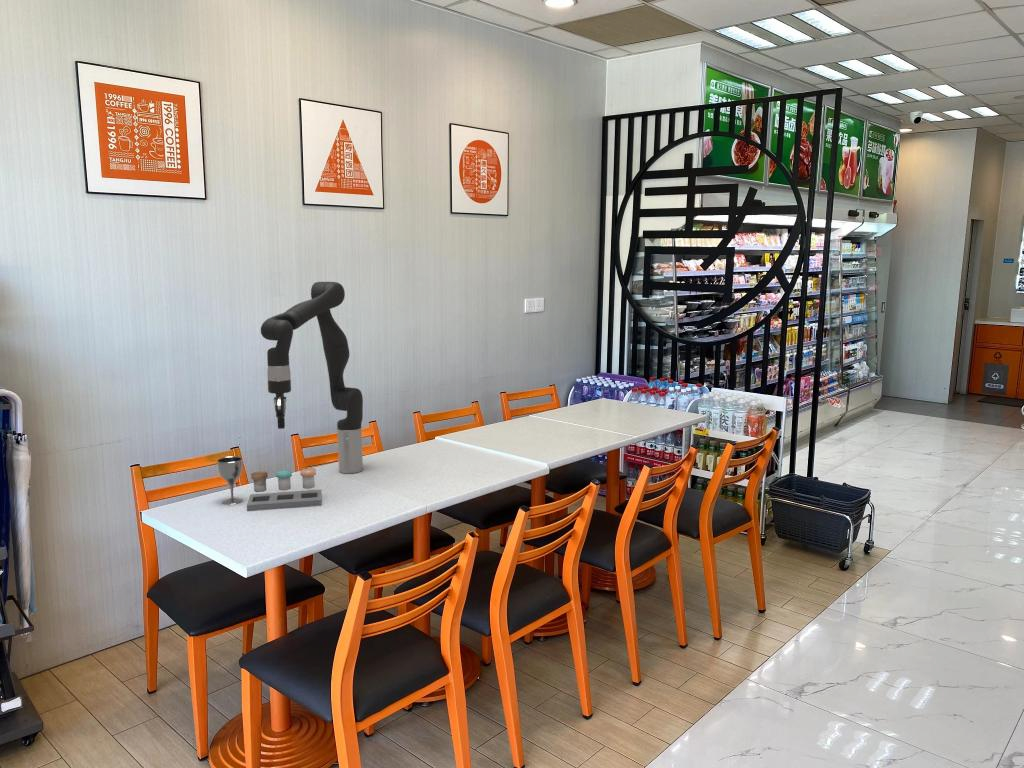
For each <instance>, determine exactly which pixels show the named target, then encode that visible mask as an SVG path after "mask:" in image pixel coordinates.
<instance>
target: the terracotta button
mask: <svg viewBox="0 0 1024 768" xmlns="http://www.w3.org/2000/svg"><path fill="white" fill-rule="evenodd" d="M299 472H300V476H301V479H302V488H303V489H305V490H310V489H311V490H312V489H314V488H315V487H316V485H315V476H316V474H317V469H316V468H311V467H308V468H301V469H299Z"/></svg>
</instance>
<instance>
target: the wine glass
mask: <svg viewBox="0 0 1024 768" xmlns="http://www.w3.org/2000/svg"><path fill="white" fill-rule="evenodd" d="M217 469H218V473H219V476H220V477H221V478H222V479H223V480H224V481H225V482H226V483H227V484H228V486H229V489H230V490H229V491H230V498H225V499H224V500H222V501H221V504H223V505H228V506H229V505H230V506H231V505H237V504H241V503H243V502H244V499H243V498H240V497H234V488H235V487H234V486H235V483H236V482H237V480H238V479H239V478H240V476H241V474H242V471H243V458H242V457H241V456H231V455H230V456H224V457H220V458H217Z"/></svg>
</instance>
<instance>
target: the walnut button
mask: <svg viewBox="0 0 1024 768" xmlns="http://www.w3.org/2000/svg"><path fill="white" fill-rule="evenodd" d="M250 475H251V480H253V490H254V492H255V493H265V492H267V479H268V471H262V470H260V471H253V472H251V474H250Z"/></svg>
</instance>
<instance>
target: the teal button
mask: <svg viewBox="0 0 1024 768" xmlns="http://www.w3.org/2000/svg"><path fill="white" fill-rule="evenodd" d="M292 476H293V471H292V470H291V469H281V470H277V471H276V472H275V477H276V478H277V482H278V485H277V486H278V490H279V491H289V490H291V488H292V486H291V484H292V483H291V477H292Z"/></svg>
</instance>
